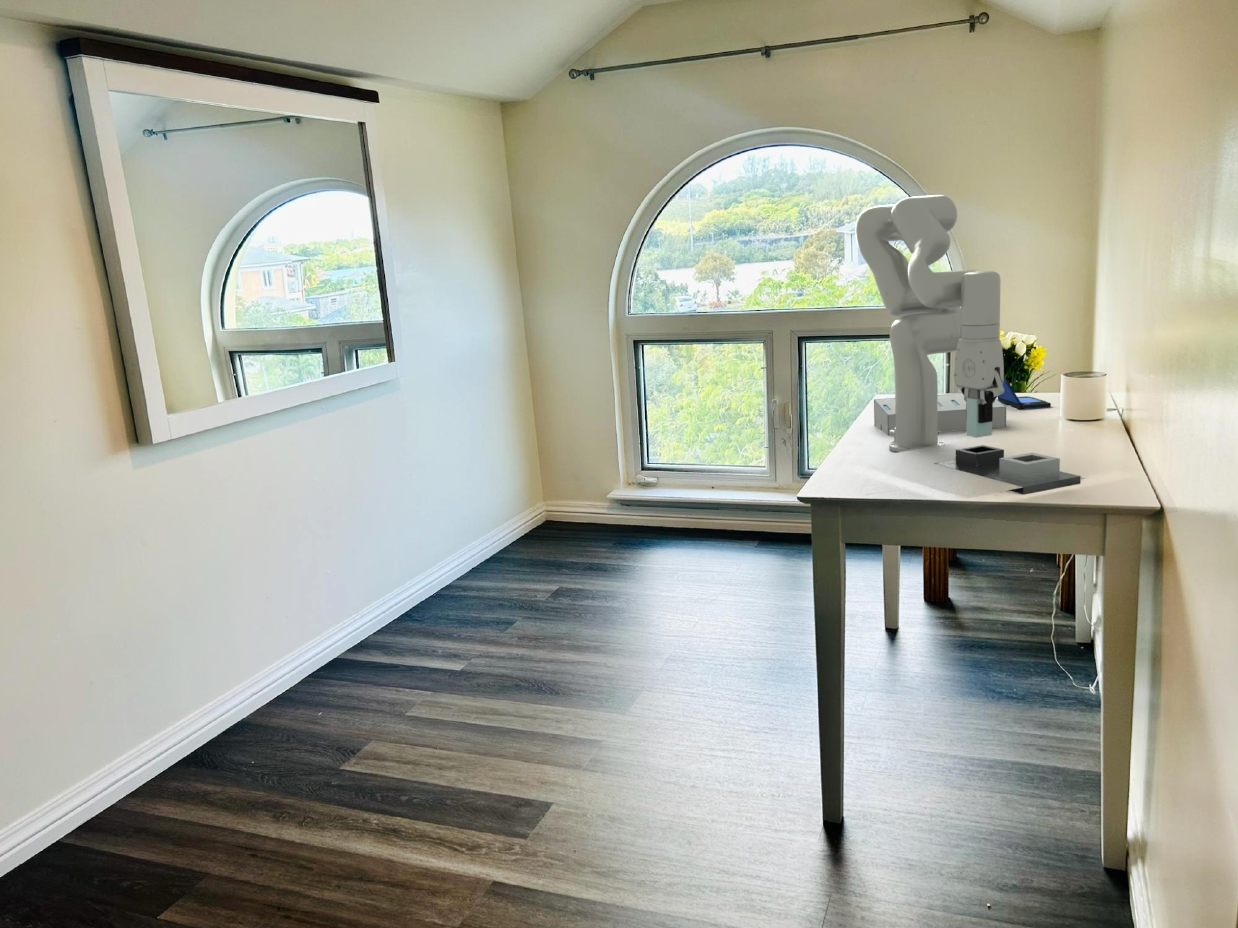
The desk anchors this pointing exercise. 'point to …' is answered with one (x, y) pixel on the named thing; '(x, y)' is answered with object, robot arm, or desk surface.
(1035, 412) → the desk surface
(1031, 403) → the handheld game console
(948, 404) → the grey slotted box
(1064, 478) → the panel
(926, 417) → the robot arm
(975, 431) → the plug
